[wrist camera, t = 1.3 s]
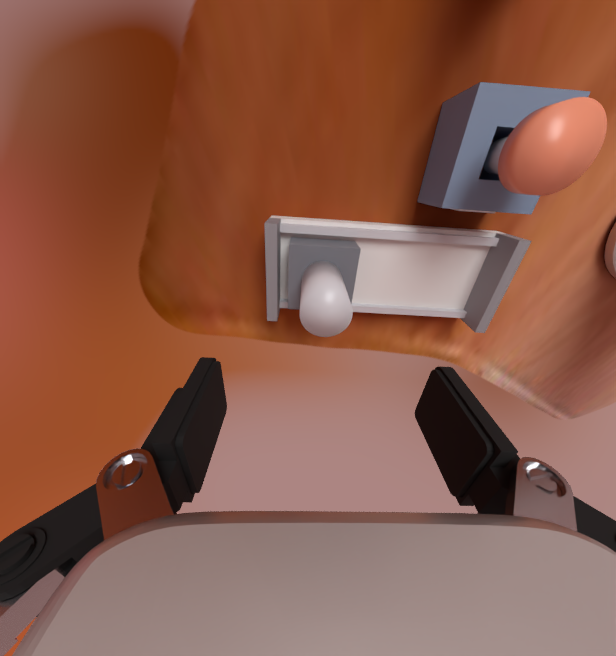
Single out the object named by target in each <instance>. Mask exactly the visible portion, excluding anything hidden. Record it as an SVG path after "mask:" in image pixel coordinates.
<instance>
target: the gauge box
mask: <svg viewBox="0 0 616 656" xmlns="http://www.w3.org/2000/svg"><path fill="white" fill-rule="evenodd" d="M589 94H590V92H589V91H577V90H566V89H554V88H543V87H531V86H520V85H508V84H497V83H485V82H480V83H478V84H476V85H474V86H472V87H471V88H469V89H467V90H465V91H463V92H461V93H460V94H458V95H456V96H454V97H452V98H450V99H449V100H447V101H445V102H443V104H442V108H441V112H440V116H439V120H438V124H437V127H436V131H435V135H434V139H433V143H432V147H431V151H430V154H429V158H428V162H427V166H426V170H425V174H424V177H423V181H422V185H421V189H420V193H419V197H418V201H417V202H419V203H423V204H427V205H431V206H435V207H440V208H448V209H453V210H457V211H468V212H482V213H495V212H505V213H520V214H532V212H533V210H534V208H535V205H536V203H537V201H538V199H539V197H540V195H526V194H516V193H512V192H510V191H508V190H507V189H506V188H504V186H503V185H502V183H501V182H500V179H499V175H498V174H489V173H487V172H486V171H485V169H484V168H483V165H484V162H485V159H486V157H487V154H488V151H489V148H490V145H491V143H492V140H493V139H494V140H493V142H495V141H496V140H498V139H500V138H504V137H508V136H509V135H510V133H511V132H512V131H513V129H514V128H515V127H516V126H517V125H518V124H519V123H520V122H521V121H522V120H523V119H524V118H525V117H526V116H528V115H529V114H530V113H532V112H534V111H535V110H537V109H540V108H542V107H545V106H548V105H552V104H555V103H558V102H562V101H565V100H568V99H572V98H577V97H588V96H589ZM482 168H483V170H482ZM481 170H482V173H481ZM480 173H481V176H480ZM479 176H480V179H479Z"/></svg>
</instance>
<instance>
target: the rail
mask: <svg viewBox="0 0 616 656" xmlns="http://www.w3.org/2000/svg"><path fill="white" fill-rule="evenodd" d="M291 237H302V238H317V239H332V240H347V241H355V242H356V243H357V244H358V246H359V247H360V249H361V250H360V256H359V262H358V268H357V274H356V280H355V286H354V292H353V298H352V304H351V305H352V309H353V312H364V313H382V314H399V315H417V316H434V317H452V318H460V319H461V320H463V321H464V322H465V323H466V324H467V325H468V326H469V327H470V328H471V329H472V330H473V331H474V332H479V333H485V331H486V329H487V327H488V325H489V323H490V321H491V320H492V318H493V316H494V314H495V312H496V310H497V308H498V306H499V304H500V302H501V300H502V298H503V296H504V294H505V292H506V290H507V288H508V286H509V284H510V282H511V280H512V278H513V276H514V274H515V272H516V270H517V269H518V267H519V265H520V263H521V261H522V259H523V257H524V255H525V253H526V251H527V249H528V247H529V245H530V243H531V241H529V240H526V239H523V238H519V237H516V236H512V235H509V234H505V233H502V232H499V231H490V230H476V229H461V228H446V227H432V226H417V225H403V224H388V223H373V222H359V221H344V220H329V219H315V218H300V217H285V216H271V217H270V218H269V219H268V220H267V221H266V222H265V257H266V296H267V321H277V320H278V316H279V311H280V308H288V271H289V243H290V239H291Z"/></svg>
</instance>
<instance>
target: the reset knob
mask: <svg viewBox="0 0 616 656" xmlns="http://www.w3.org/2000/svg"><path fill="white" fill-rule="evenodd" d="M606 129H607V118H606V113H605V110H604V109H603V107H602V105H601V104H600V103H599V102H597V101H596V100H594V99H592V98H588V97H577V98H572V99H568V100H565V101H562V102H558V103H555V104H552V105H548V106H545V107H542V108H540V109H537V110H535V111H534V112H532V113H530V114H529V115H528V116H526V117H525V118H524V119H523V120H522V121H521V122H520V123H519V124H518V125H517V126H516V127H515V128H514V129H513V131H512V132H511V133H510V135H509V136H508V137H504V138H500V139H498V140H496V141H495V142H493V143H492V144H491V145H490V148H489V151H488V154H487V157H486V159H485V162H484V165H483V167H484V169H485V171H486V172H487V173H489V174H498V175H499V179H500V182H501V183H502V185H503V186H504V188H506V189H507V190H508V191H510V192H512V193H516V194H526V195H549V194H553V193H556V192H558V191H560V190H562V189H564V188H566V187H567V186H569V185H570V184H572V183H573V182H575V181H576V180H577V179H578V178H579V177H580V176H581V175H582V174H583V173H584V172H585V171H586V170H587V169H588V168H589V166H590V165H591V164H592V162H593V161H594V160H595V158H596V156H597V155H598V153H599V151H600V149H601V147H602V144H603V142H604V139H605V135H606Z"/></svg>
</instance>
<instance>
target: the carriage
mask: <svg viewBox="0 0 616 656" xmlns="http://www.w3.org/2000/svg"><path fill="white" fill-rule="evenodd" d="M360 250H361V249H360V247H359V246H358V244H357V243H356V242H355V241H347V240H332V239H317V238H302V237H291V239H290V243H289V271H288V309H300V320H301V323H302V325H303V326H304V328H305V329H306V330H307V331H308V332H310V333H312V334H314V335H316V336H320V337H330V336H334V335H337V334H339V333H341V332H342V331H344V330H345V329H346V328H347V327H348V325H349V324H350V322H351V320H352V316H353V309H352V305H351V304H352V298H353V292H354V286H355V280H356V274H357V268H358V262H359V256H360Z"/></svg>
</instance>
